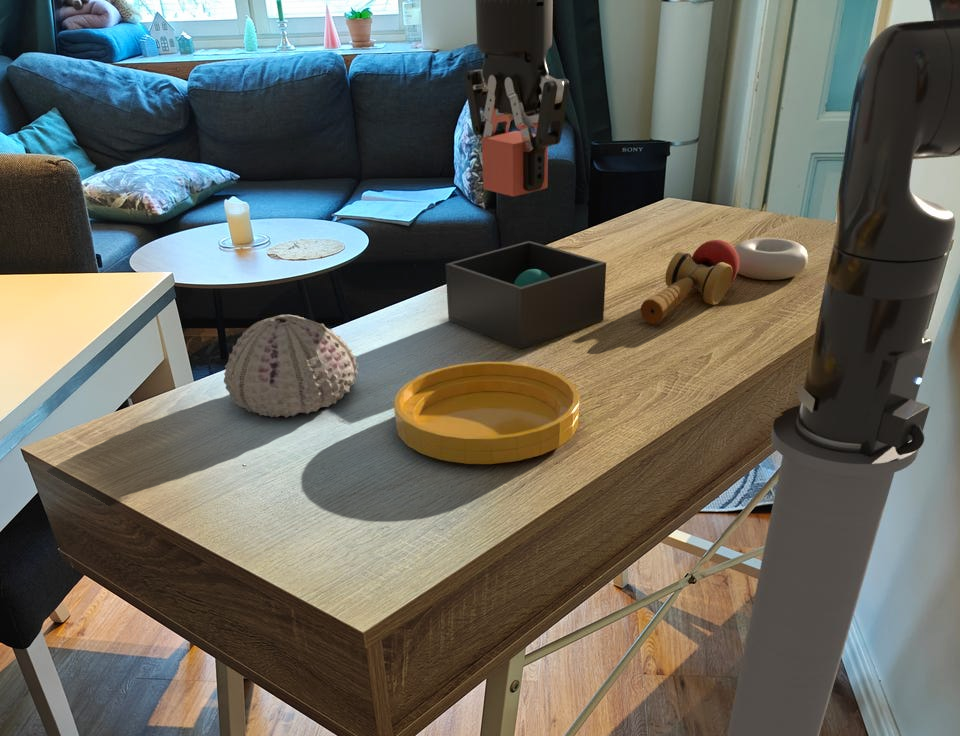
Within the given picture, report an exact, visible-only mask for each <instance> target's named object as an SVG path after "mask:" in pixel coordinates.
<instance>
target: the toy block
mask: <svg viewBox="0 0 960 736" xmlns="http://www.w3.org/2000/svg"><path fill="white" fill-rule="evenodd" d="M532 134H533V137H535V136H536V133H532ZM523 152H526V151H525V149H524V145H523V141H522V136H521V131H520V130H514V131H508V133H504V134H499V135H494V136H489V137H484V138H483V137H482V138H481V158H482V159H481V160H482V161H481V163H482V190H486V191H489V192H492V193H493V192H494V193H497V194H501V195H506V196H509V197H512V198H513V197H518V196H522V195H526V194H529V193H534V192H537V191H542V190H545V189H548V161H549V160H548V158H549V157H548V155H549V154H548V153H549V147H547V148H546V150H545V166H544V182H543V185H542V187H541V189H538V190H534V191H526V190H524V188H523Z"/></svg>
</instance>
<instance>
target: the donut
mask: <svg viewBox="0 0 960 736" xmlns="http://www.w3.org/2000/svg"><path fill="white" fill-rule="evenodd" d="M733 247H734V248H735V250H736V251H737V254H738V257H739V269H738V272H737V275H740V276H743V277H745V278H750V279H754V280H761V281H762V280H763V281H779V280H785V279H790V278H793V277H796V276H797V275H800V274H801V273H802V272H803V271H804V270H805V268H806V267H807V265H808V262H809V254H808V252H807V249H806V247H804V246H803V245H801V244H800V243H799V242H797V241H795V240H790V239H786V238H777V237H756V238H755V237H754V238H750V239H746V240H744V241H741V242H739V243H737V245H735V246H733Z"/></svg>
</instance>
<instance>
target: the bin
mask: <svg viewBox="0 0 960 736" xmlns="http://www.w3.org/2000/svg"><path fill="white" fill-rule="evenodd" d="M444 266H445V280H446V282H445V283H446V298H447V299H446V300H447V302H446V303H447V315H448V316H447V317H448V318H447V319H448V321H449V322H451V323H454V324H456V325H458V326H461V327H464V328H467V329H468V330H471V331H473V332H476V333H479V334H481V335H484V336H486V337H489V338H491V339H494V340H496V341H499V342H501V343H503V344H506V345H509V346H512V347H514V348H517V349H519V350H525V349H526V348H529V347H532V346H535V345H539V344H540V343H543V342H546V341H549V340H552V339H554V338H557V337H560V336H563V335H565V334H569V333H571V332H575V331H577V330H580V329H582V328H585V327H589V326H591V325H594V324H597V323H600V322H603V321H604V315H605V298H606V278H607V262H606V261H601V260H598V259H594V258H592V257H588V256H583V255H580V254H576V253H573V252H571V251H566V250H563V249H560V248H556V247H552V246H548V245H545V244H542V243H539V242H534V241H531V240H527V241H522V242H520V243H517V244H513V245H512V244H511V245H509V246H505V247H501V248H499V249H494V250H491V251H487V252H483V253H480V254H477V255H472V256H470V257H466V258H462V259H459V260H454V261H451V262H448V263H445V265H444ZM530 269H538V270H541V271H543V272H545V273H546V274H548V275H549V277H550V278H549V279H546V280H542V281H539V282H536V283H533V284H529V285H526V286H523V287H519V286H516V285H514V282H515V280H516V279H517V277H518V276H519V275H520V274H521V273H523V272H524V271H527V270H530Z"/></svg>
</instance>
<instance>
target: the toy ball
mask: <svg viewBox="0 0 960 736" xmlns="http://www.w3.org/2000/svg"><path fill="white" fill-rule="evenodd" d="M549 278H550V277H549V275H548V274H546V273H545V272H543V271H541V270H538V269H530V270H527V271H524V272H523V273H521V274H520V275H519V276H518V277H517V279H516V280H515V282H514V285H516V286H519V287H523V286H526V285H529V284H533V283H536V282H539V281H542V280H546V279H549Z"/></svg>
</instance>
